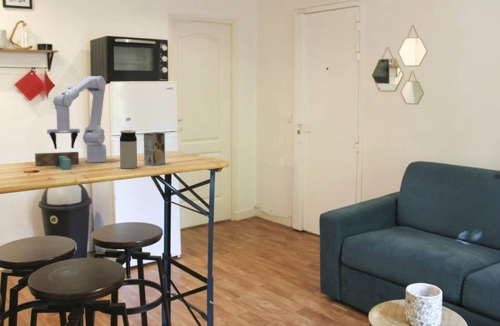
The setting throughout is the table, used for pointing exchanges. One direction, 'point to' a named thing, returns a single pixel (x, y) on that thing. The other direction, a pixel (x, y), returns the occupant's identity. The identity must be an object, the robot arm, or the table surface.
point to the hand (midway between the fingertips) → (64, 148)
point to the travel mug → (128, 149)
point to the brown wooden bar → (55, 158)
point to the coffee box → (154, 149)
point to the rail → (64, 162)
